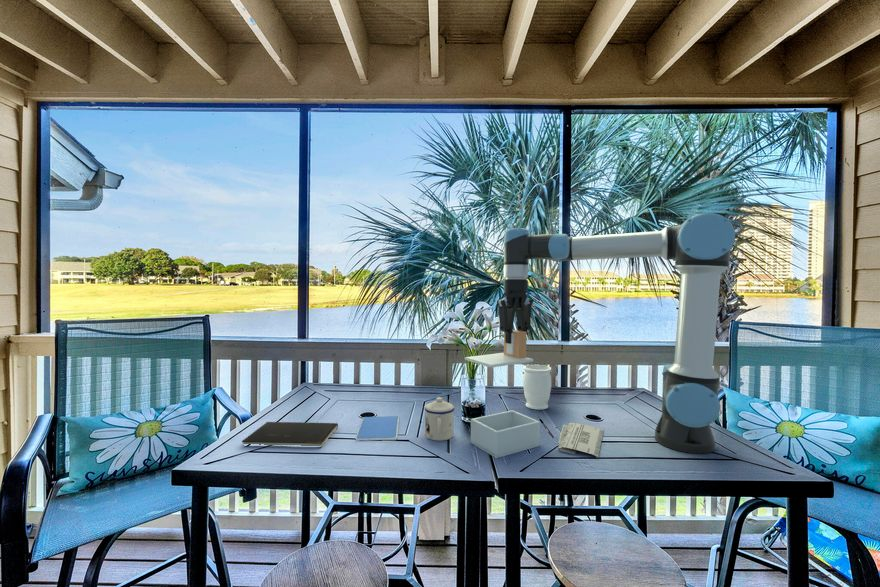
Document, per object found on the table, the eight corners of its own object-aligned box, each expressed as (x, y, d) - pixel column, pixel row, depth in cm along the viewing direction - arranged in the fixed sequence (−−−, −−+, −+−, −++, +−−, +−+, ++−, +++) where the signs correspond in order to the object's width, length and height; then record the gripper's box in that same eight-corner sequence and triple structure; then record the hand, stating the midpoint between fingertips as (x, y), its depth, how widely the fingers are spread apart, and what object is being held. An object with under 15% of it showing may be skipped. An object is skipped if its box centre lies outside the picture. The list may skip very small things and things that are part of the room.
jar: (554, 411, 147) (554, 370, 146) (525, 411, 147) (526, 370, 147) (547, 402, 158) (547, 364, 157) (520, 402, 158) (520, 364, 157)
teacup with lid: (425, 429, 128) (425, 393, 128) (453, 430, 128) (454, 393, 128) (423, 445, 116) (423, 405, 116) (454, 445, 116) (454, 405, 116)
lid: (533, 361, 123) (533, 332, 122) (490, 367, 114) (491, 336, 114) (505, 354, 133) (505, 328, 133) (464, 359, 125) (465, 331, 124)
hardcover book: (321, 450, 114) (321, 442, 114) (242, 448, 115) (241, 440, 115) (338, 429, 130) (338, 422, 130) (268, 428, 131) (267, 421, 131)
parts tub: (540, 445, 116) (540, 421, 116) (496, 458, 108) (496, 432, 108) (512, 432, 127) (512, 410, 126) (470, 442, 119) (470, 419, 118)
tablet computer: (397, 442, 120) (397, 437, 120) (354, 443, 119) (354, 438, 119) (399, 419, 140) (399, 415, 140) (362, 420, 139) (362, 416, 139)
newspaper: (563, 427, 133) (564, 419, 133) (602, 437, 128) (603, 429, 128) (550, 453, 113) (551, 444, 113) (597, 466, 108) (598, 457, 107)
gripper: (526, 278, 134) (524, 349, 135) (488, 278, 125) (487, 353, 126) (543, 278, 127) (541, 352, 128) (504, 278, 119) (503, 357, 120)
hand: (514, 353), depth 127 cm, fingers closed on lid, 3 cm apart
